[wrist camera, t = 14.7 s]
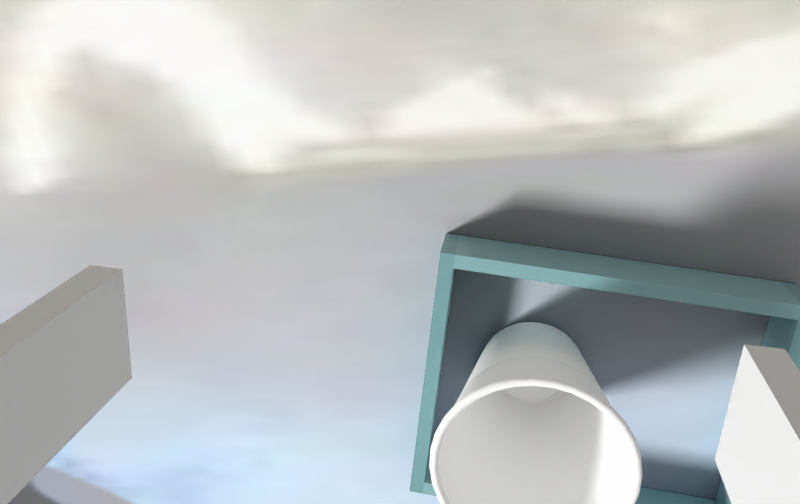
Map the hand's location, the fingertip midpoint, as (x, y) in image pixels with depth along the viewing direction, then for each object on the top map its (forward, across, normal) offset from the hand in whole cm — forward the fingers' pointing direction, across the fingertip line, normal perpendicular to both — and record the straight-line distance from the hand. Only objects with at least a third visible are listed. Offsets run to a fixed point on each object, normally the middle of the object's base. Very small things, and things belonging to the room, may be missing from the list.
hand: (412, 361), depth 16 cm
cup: (+27, +4, -14) cm, 31 cm away
